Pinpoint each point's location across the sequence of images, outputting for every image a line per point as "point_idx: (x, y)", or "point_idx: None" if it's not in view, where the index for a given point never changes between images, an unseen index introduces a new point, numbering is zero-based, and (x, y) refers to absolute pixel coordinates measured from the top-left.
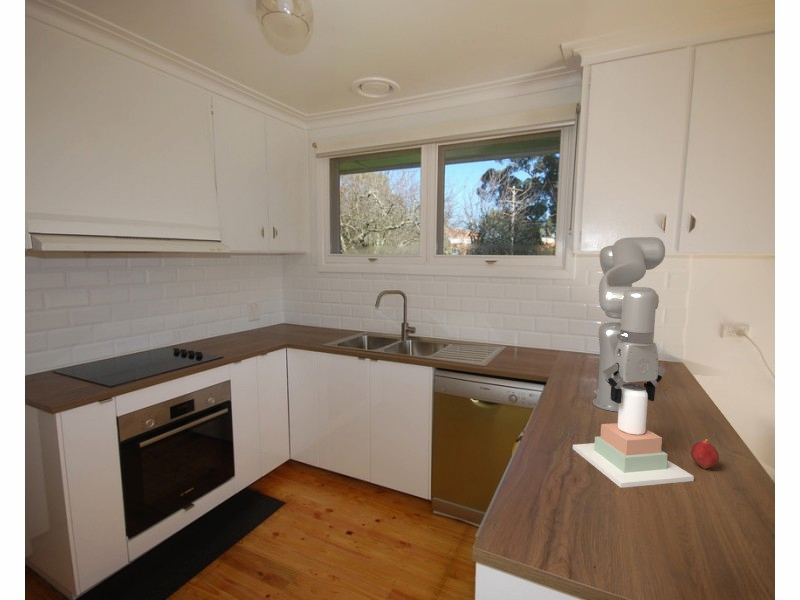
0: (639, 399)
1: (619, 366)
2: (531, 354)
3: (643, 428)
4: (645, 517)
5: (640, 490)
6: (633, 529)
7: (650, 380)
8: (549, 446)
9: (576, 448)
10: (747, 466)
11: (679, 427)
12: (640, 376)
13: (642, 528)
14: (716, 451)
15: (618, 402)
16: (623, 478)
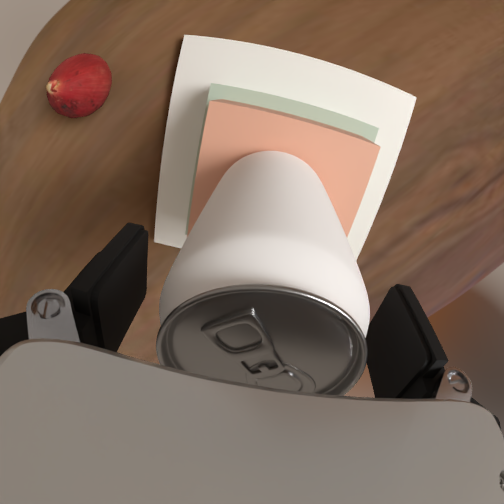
0: (321, 234)
1: None
2: None
3: (266, 155)
4: (452, 16)
5: (376, 63)
6: (493, 22)
7: (130, 362)
8: (378, 304)
9: None
10: (21, 78)
11: (17, 252)
12: (339, 474)
13: (479, 11)
14: (59, 65)
15: (408, 291)
16: (391, 106)
